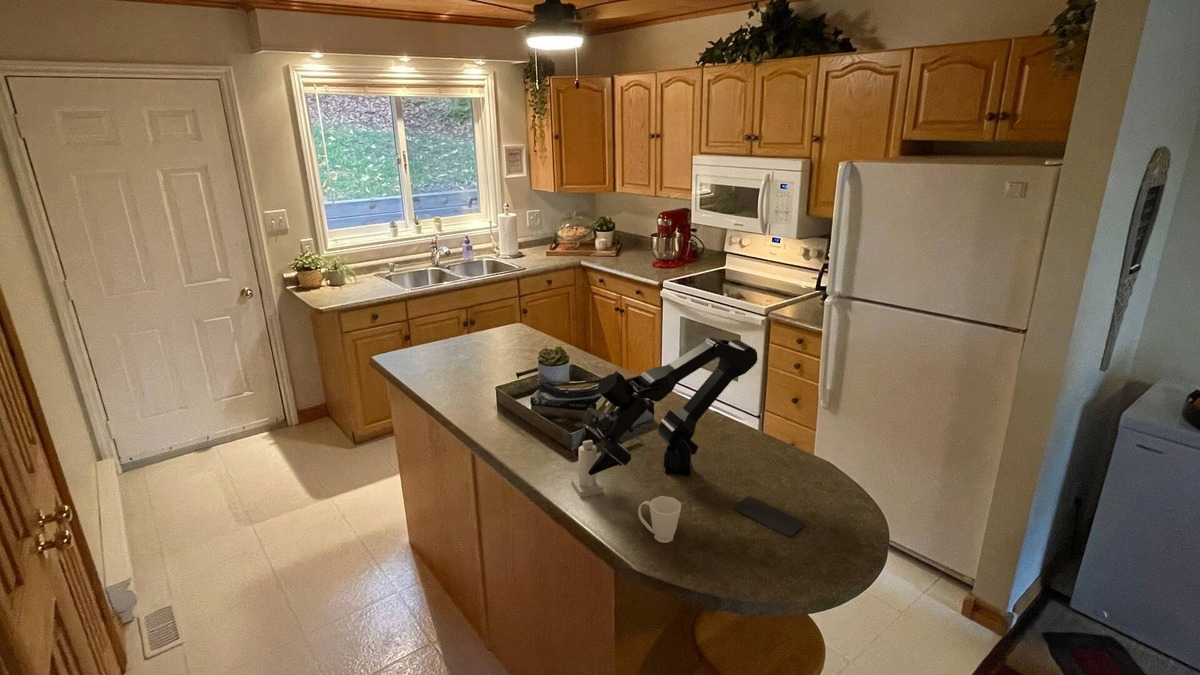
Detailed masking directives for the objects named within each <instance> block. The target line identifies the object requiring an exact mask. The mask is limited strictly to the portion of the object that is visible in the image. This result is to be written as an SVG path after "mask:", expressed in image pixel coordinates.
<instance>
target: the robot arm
mask: <svg viewBox="0 0 1200 675" xmlns="http://www.w3.org/2000/svg"><path fill="white" fill-rule="evenodd" d="M716 358H718V359H719V360H718V365H717V366H716V368H715V369H714V370H713V372H712V373H711V374H710V375H709V376H708V378H706V380H705V381H704V382H703V383H702V384H701V386H700V387H699V388H698V389H697V390H696V391H695V393H694V394H693V395H692V396H691V397H690V398H689V399H688V401H687V403H686V404H685V405H684V406H683V407H682V408H681V409H679V410H677V411H673V409H670V410H668V412H667V413H666V415H665V416H664V417H663V418H661V419H660V424H659V425H658V427H657V429H658V431H657V433H658V436H659V437H660V438H661V439H662V440H663V442H664V443H666V445H667V447H666V448H665V449H664V454H663V468H664V473H665V474H666V475H667V474H668V475H675V476H683V477H690V476H691V473H692V467H693V466H692V465H693V463H692V457H693V455H695V454H697V452H698V449H699V446H698V444H696V443H695V442H694V441H693V440H692V439H693V436H694V434H695V430H696V427H697V422H699V420H700V419H701V418H702V417H703V415H704V414H705V413H706V411H708V409H709V408H710V407H711V406H712V405H713V403H714V402H715V401H716V400H717V399H718V398H719V396H721V394H722V393H723V391H724V390H725V389H726V388H727V387H728V386H729V385H730V383H731V382H732V381H733V380H734V379H736V378H738V377H741V376H743V375H745V374H747V372H748V371H750V370H751V369H752V368H753V367H755V365H756V364H757V362H758V360H759V358H758V351H757V350H756V349H755V348H754V347H752V346H750V345H749V344H747V343H745V342H743V341H742V340H740V339H734V340H733V339H732V340H727V339H722V338H715V337H708V338H706V339H705V340H704V342H702V343H701V344H699V345H697V346H696V347H694V348H693V349H691V350H689V351H688V352H686V353H684V354H683V355H681V356H680V357H678V358H676V359H675V360H673V361H671V362H670V363H668V364H665V365H662V366H661V365H660V366H656V367H653V368H651V369H647V370H645V371H643V372H641V373H640V374H639V375H637V376H633V377H630V378H625V376H624V375H622V374H621V372H619V371H618V370H615V372H614V373H611V374H608V375H606V376H604V377H602V378H601V380H600V381H599V383H598V385H597V388H596V391H597V393H598V394H599V395H600V396H601V397H603V398H604V399H605V400H606V401H607V402H609V403H610V404H611V405H612V406H613V407H616V408H615V409H612V408H611V409H608V410H607V411H606V412H603V411H602V410H600V409H595V408H593V407H587V409H586V411H585V413H584V415H583V417H582V418H581V421H582V423H581V426H582V431H583V432H582V436H581V438H580V441H579V443H578V444H577V448H576V449H575V451H574V456H576V458H579V447H580V446H583V441H587V440H592V441H593V445H595V446H596V444H599V442H600V441H601V440H603V441H604V443H605V444H604V447H603V446H600V447H601V451H600V455H599V457H597V461H596V462H595V463H594V464H593V466H592V467H591V468H590V470H589V472H588V474H590V475H594V474H596V475H597V474H598V473H600V472H604V471H605V470H608V469H610V468H613V467H614V468H615V467H617V466H622V465H624V466H625V467H626V466H627V465H628V464H629V463H630V462H631V460H632V454H631V453H630V452H629V451H628V450H627V448H625V447H624V446H623V445H622V444H623V443H624V442H623V441H622V439H623V437H625V435H626V434H627V433H628V432H630V433H631V434H632V433H633V432H634V430H635V428H634V427H633V426H635V424H636V422H638V421H639V420H640V418H641V417H642V416H643V415H644V414H645V413H646V412H647V411H648V412H649V413H650V414H651V415H655V403H657V402H660V401H662V400H664V399H665V398H666V397H667V396H668V395H669V394H670V393H672V392H673V391H674V389H675V387H676V385H677V384H678V383H679V382H680V381H681V380H683V379H685V378H687V377H688V376H690V375H691V374H693V373H695V372H696V371H698V370H700V369H701V368H702V367H704V366H706V365H707V364H709V363H710V362H712V361H714V360H715V359H716Z"/></svg>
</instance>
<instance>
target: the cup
mask: <svg viewBox="0 0 1200 675" xmlns="http://www.w3.org/2000/svg"><path fill="white" fill-rule="evenodd" d="M643 505H646V506H649V511H650V520H651V526H652V527H651V526H650V525H649V524H648V522H647V521H646V520H645V518H644V517H643V515H642V507H643ZM681 509H682V502H680V501H679V500H677V499H676V498H675V497H673V496H664V495H660V496H656V497H655V498H652V499H650V501H649V500H644V501H643V502H641V504H639V507H638V509H637V513H638V514H637V515H638V518H639V520H640V522H641V523H642V524H643V526H645V527H646V529H647V530H648V531H650V532H651V533H652V534H654V536H653V538H654V539H655V540H656V541H658V542H659V543H664V544H665V543H666V544H667V543H671V542H673V540H674V535H675V533H676V531H677V527H678V523H679V518H680V515H681V514H680V513H681V511H682V510H681Z"/></svg>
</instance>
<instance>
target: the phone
mask: <svg viewBox="0 0 1200 675" xmlns="http://www.w3.org/2000/svg"><path fill="white" fill-rule="evenodd" d="M733 510H734V512H737V513H738V512H739V513H738V514H740V515H742V516H745V517H747V518H748V519H750V520H752V521H754V522H756V523H758V522H759V523H758V524H760V525H762V524H763V525H762V526H764V525H765V526H764V527H766V526H767V527H766V528H768V527H770V528H772V529H774V530H775V532H776V531H778V532H780V533H781V534H780V533H779V534H780V535H782V534H784V535H785V537H787V536H792V537H793V535H794V534H795V533H796V532H797V531H798V530H799V529H800V528H801V527H803V525H804V523H805V522H804V521H803V520H801V519H800V518H797V517H795V516H793V515H791V514H790V513H787V512H785V511H783V510H780V509H779V508H777V507H775V506H772V505H770V504H769V503H766V502H764V501H762V500H761V499H758V498H756V497H754V496H750V495H749V496H745V498H743V499H741V500H740V501H739V502H737V503H736V504H735V505H734V506H733ZM804 526H805V525H804ZM770 528H769V529H770ZM803 528H804V527H803ZM772 529H771V530H772ZM774 530H773V531H774ZM800 530H801V529H800ZM800 530H799V531H800ZM799 531H798V532H799ZM778 532H777V533H778ZM798 532H797V533H798ZM797 533H796V534H797ZM796 534H795V535H796ZM784 535H783V536H784ZM795 535H794V536H795Z"/></svg>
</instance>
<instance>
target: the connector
mask: <svg viewBox="0 0 1200 675" xmlns="http://www.w3.org/2000/svg"><path fill="white" fill-rule="evenodd" d="M597 448H598V447H597V445H596V444H595V445H593V441H592V440H587V441H583V446H580V447H579V456H578V477H577V478H572V479H571V486H572V487H573V489H574V490H575V492H576V493H578V494H577V495H578V497H579V496H580V497H579V498H585V497H588V496H589V497H590V496H595V495H598V494H603V493H604V486H603V484H602V483H601V481H600V480H599V479H598V477H597V473H596V474H594V475H590V474H588V472H589V470H590V468H591V467H592V466H593V464H594V463H595V462H596V461H597V459H598V457H597V453H598V452H597V451H598V450H597Z"/></svg>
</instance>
